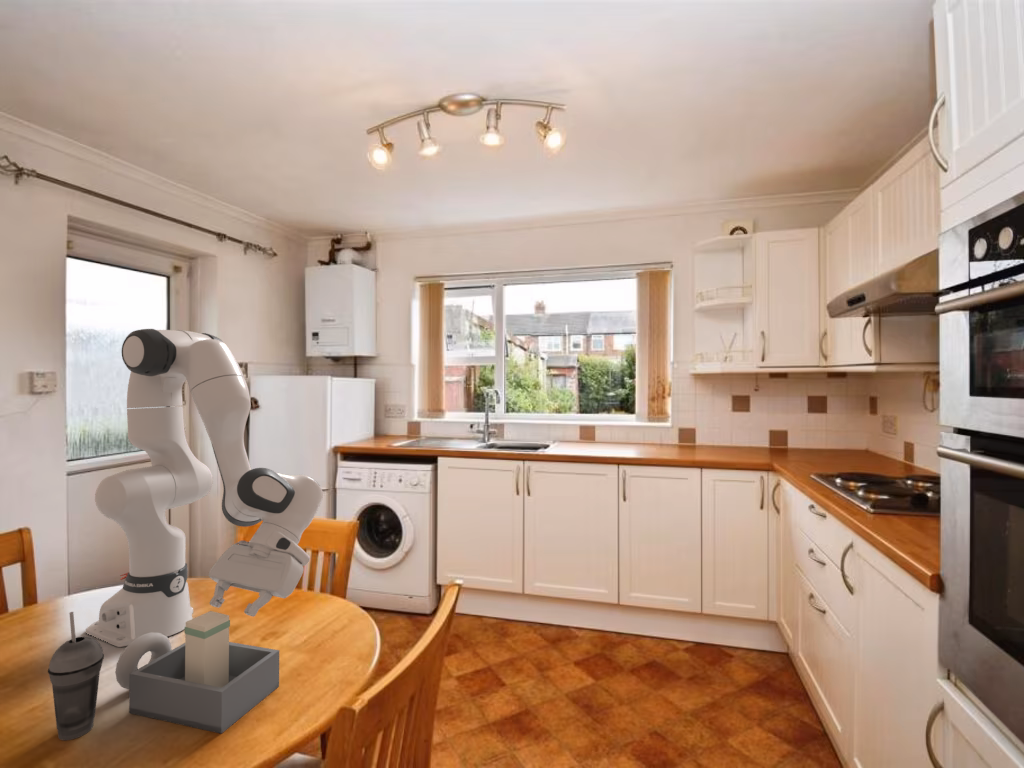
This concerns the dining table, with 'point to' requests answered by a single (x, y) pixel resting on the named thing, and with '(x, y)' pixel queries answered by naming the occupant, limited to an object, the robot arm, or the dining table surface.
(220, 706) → the box
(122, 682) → the donut
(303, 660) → the dining table surface
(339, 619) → the dining table surface
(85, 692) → the beverage cup
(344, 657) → the dining table surface
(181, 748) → the dining table surface
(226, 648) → the juice carton
